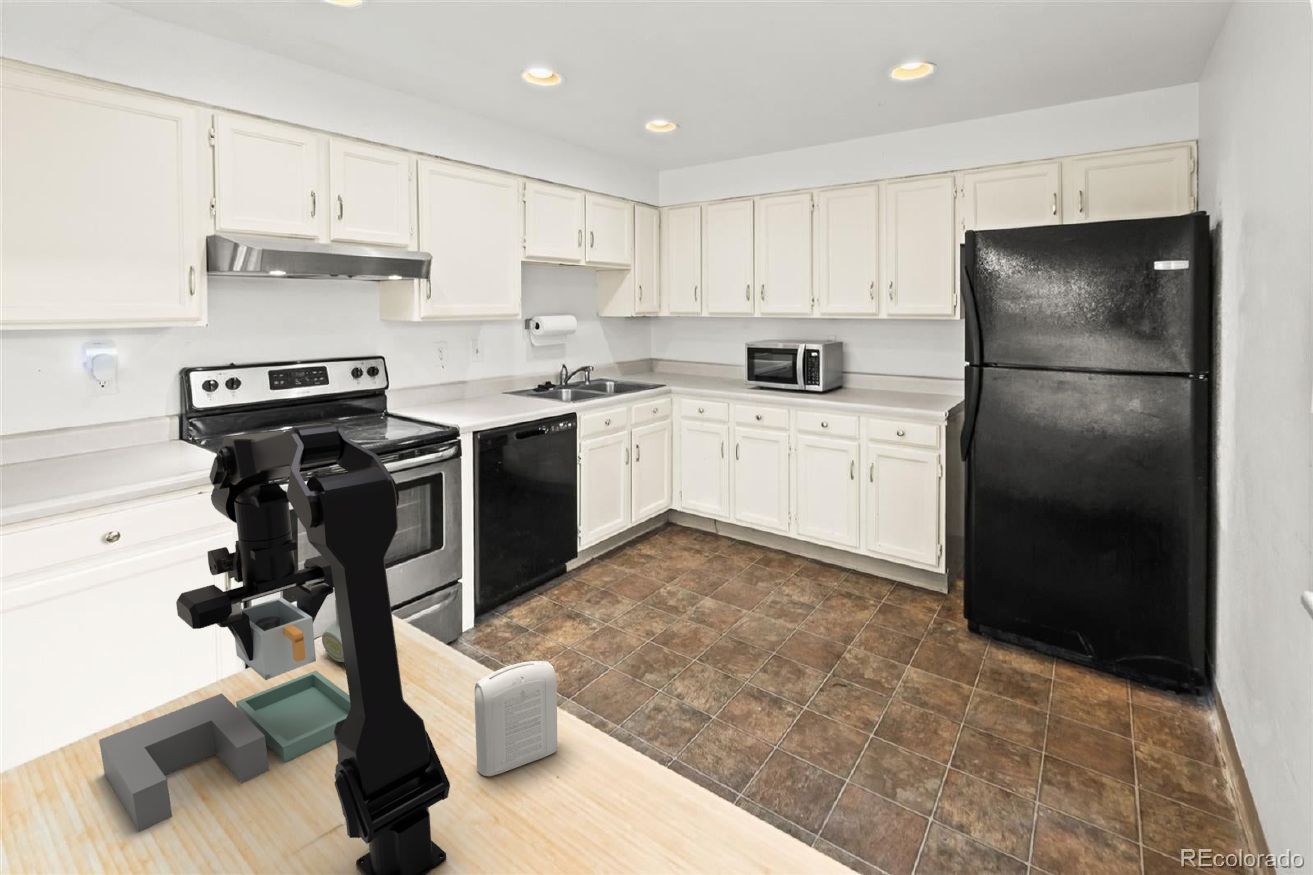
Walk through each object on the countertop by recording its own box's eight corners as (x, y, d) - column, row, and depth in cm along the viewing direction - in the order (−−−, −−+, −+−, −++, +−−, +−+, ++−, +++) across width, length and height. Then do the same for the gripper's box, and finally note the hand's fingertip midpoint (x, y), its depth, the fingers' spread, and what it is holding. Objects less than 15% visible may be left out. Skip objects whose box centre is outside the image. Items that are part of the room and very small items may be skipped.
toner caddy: (327, 669, 84) (324, 625, 83) (277, 690, 80) (272, 643, 79) (285, 638, 92) (281, 597, 91) (236, 655, 87) (231, 612, 86)
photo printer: (548, 735, 89) (546, 648, 86) (563, 752, 85) (561, 662, 83) (472, 763, 83) (467, 671, 81) (484, 783, 80) (479, 687, 77)
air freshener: (317, 653, 109) (312, 595, 107) (366, 634, 116) (361, 579, 114) (353, 676, 103) (347, 614, 101) (402, 654, 109) (398, 596, 107)
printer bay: (269, 773, 81) (265, 735, 80) (139, 835, 71) (132, 793, 70) (226, 727, 90) (221, 693, 89) (105, 777, 80) (98, 739, 79)
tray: (368, 725, 90) (367, 708, 90) (285, 766, 82) (283, 747, 82) (317, 685, 100) (316, 670, 99) (238, 718, 92) (236, 701, 91)
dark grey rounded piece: (286, 649, 88) (284, 620, 87) (264, 657, 86) (261, 628, 85) (277, 642, 90) (274, 614, 89) (254, 650, 87) (251, 622, 87)
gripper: (312, 504, 95) (321, 607, 98) (153, 538, 81) (169, 657, 84) (351, 521, 89) (359, 631, 92) (185, 561, 74) (202, 689, 77)
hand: (276, 649), depth 86 cm, fingers closed on toner caddy, 6 cm apart
